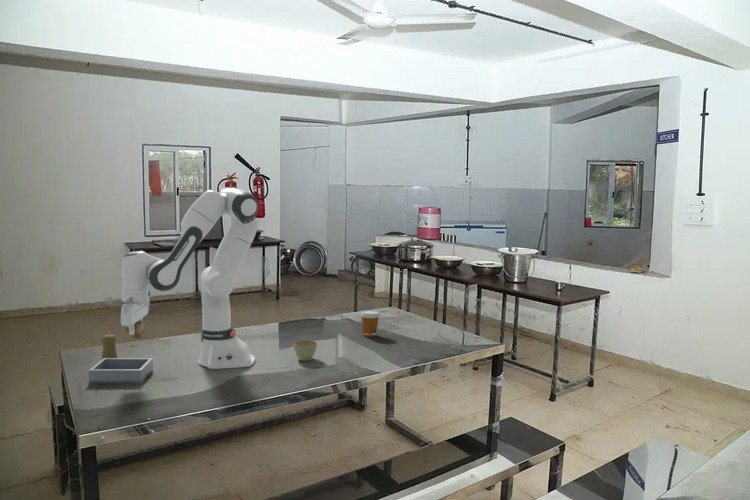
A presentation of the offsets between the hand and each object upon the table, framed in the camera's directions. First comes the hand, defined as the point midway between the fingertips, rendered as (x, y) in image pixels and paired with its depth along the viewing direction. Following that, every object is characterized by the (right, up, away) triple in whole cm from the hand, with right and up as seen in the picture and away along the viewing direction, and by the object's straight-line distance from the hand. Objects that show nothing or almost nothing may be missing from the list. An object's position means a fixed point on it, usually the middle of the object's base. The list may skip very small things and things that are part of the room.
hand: (135, 332), depth 203 cm
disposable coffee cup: (+86, -13, +71) cm, 112 cm away
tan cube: (0, -2, 0) cm, 2 cm away
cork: (-18, -15, +18) cm, 30 cm away
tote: (-5, -17, +1) cm, 18 cm away
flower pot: (+59, -16, +30) cm, 68 cm away
